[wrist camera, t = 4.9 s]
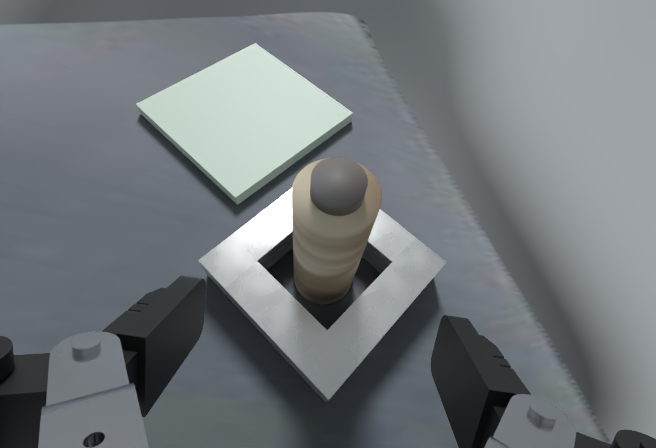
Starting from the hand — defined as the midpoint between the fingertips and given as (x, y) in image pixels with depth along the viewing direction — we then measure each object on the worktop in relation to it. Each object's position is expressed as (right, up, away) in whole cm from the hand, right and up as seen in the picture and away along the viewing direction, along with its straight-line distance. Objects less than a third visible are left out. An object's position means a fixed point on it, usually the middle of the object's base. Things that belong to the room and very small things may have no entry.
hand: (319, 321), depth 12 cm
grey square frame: (0, 0, +12) cm, 12 cm away
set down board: (-7, +13, +19) cm, 24 cm away
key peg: (0, 0, +12) cm, 12 cm away
